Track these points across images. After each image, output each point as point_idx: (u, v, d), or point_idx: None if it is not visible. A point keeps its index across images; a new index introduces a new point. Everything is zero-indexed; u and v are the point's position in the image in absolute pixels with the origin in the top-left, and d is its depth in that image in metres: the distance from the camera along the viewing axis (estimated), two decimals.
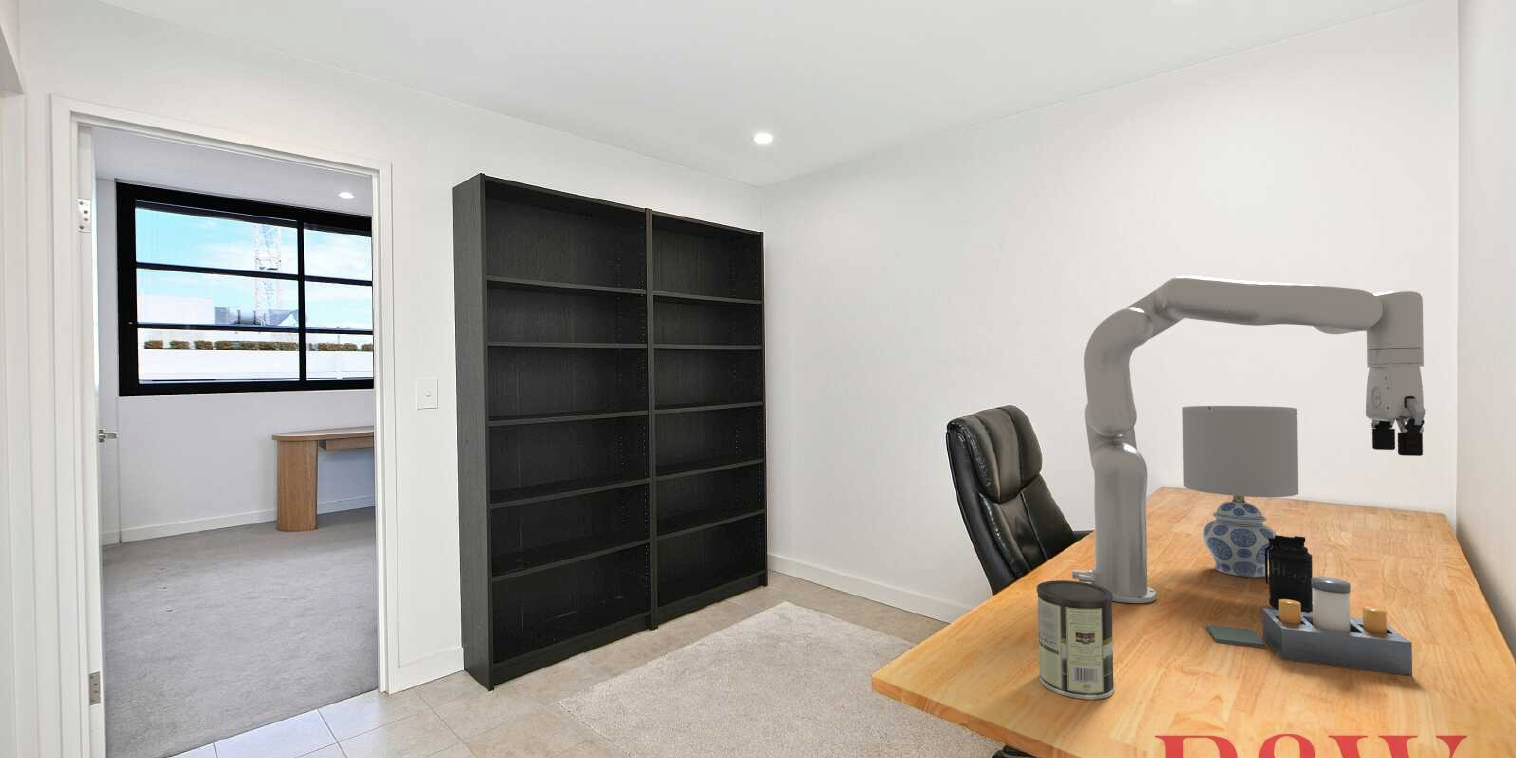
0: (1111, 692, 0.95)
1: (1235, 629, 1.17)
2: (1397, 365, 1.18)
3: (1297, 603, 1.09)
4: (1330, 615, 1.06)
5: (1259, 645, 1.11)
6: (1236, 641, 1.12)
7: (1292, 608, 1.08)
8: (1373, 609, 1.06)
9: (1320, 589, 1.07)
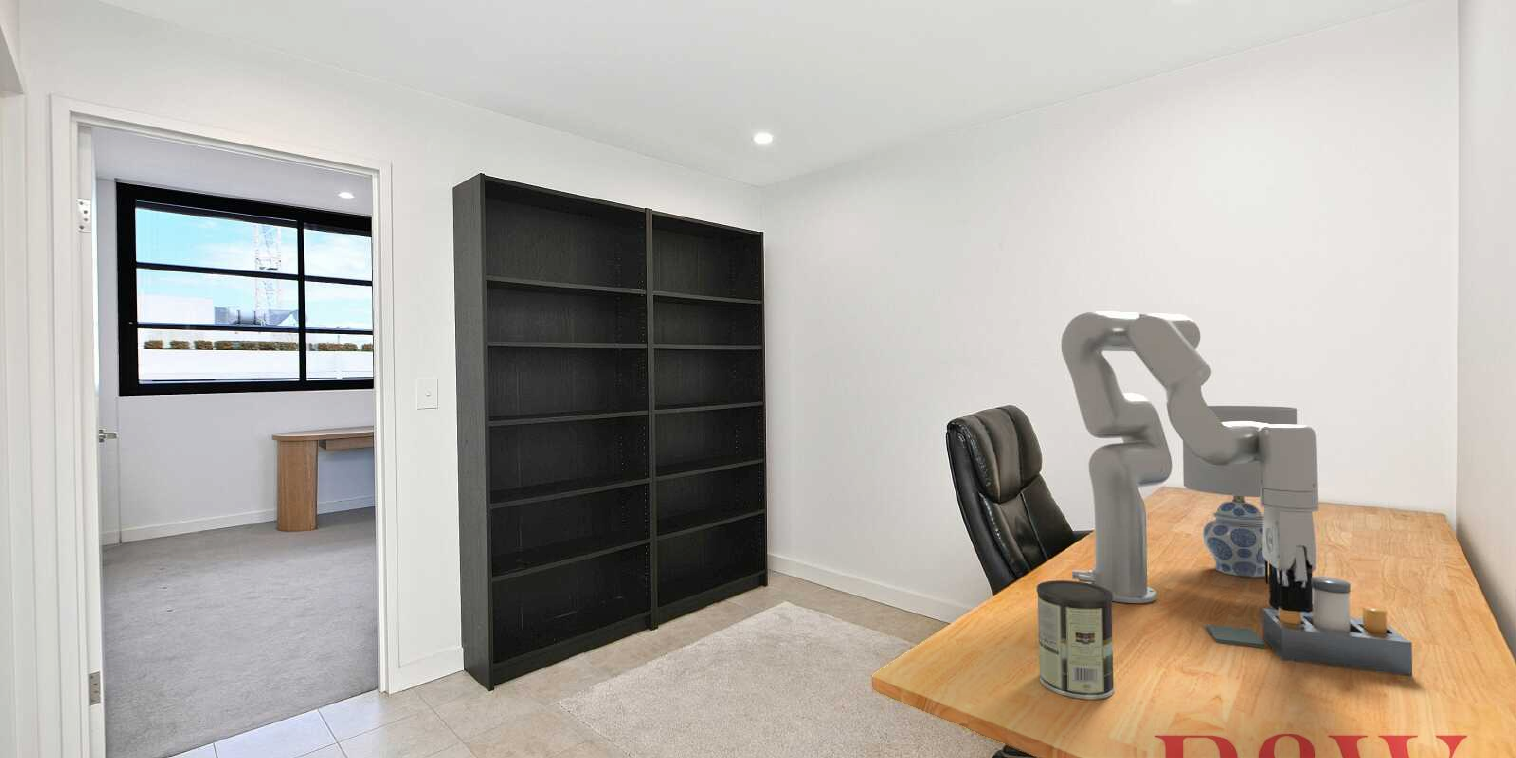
0: (1111, 692, 0.95)
1: (1235, 629, 1.17)
2: (1288, 509, 1.07)
3: None
4: (1330, 615, 1.06)
5: (1259, 645, 1.11)
6: (1236, 641, 1.12)
7: (1292, 616, 1.08)
8: (1373, 609, 1.06)
9: (1320, 589, 1.07)
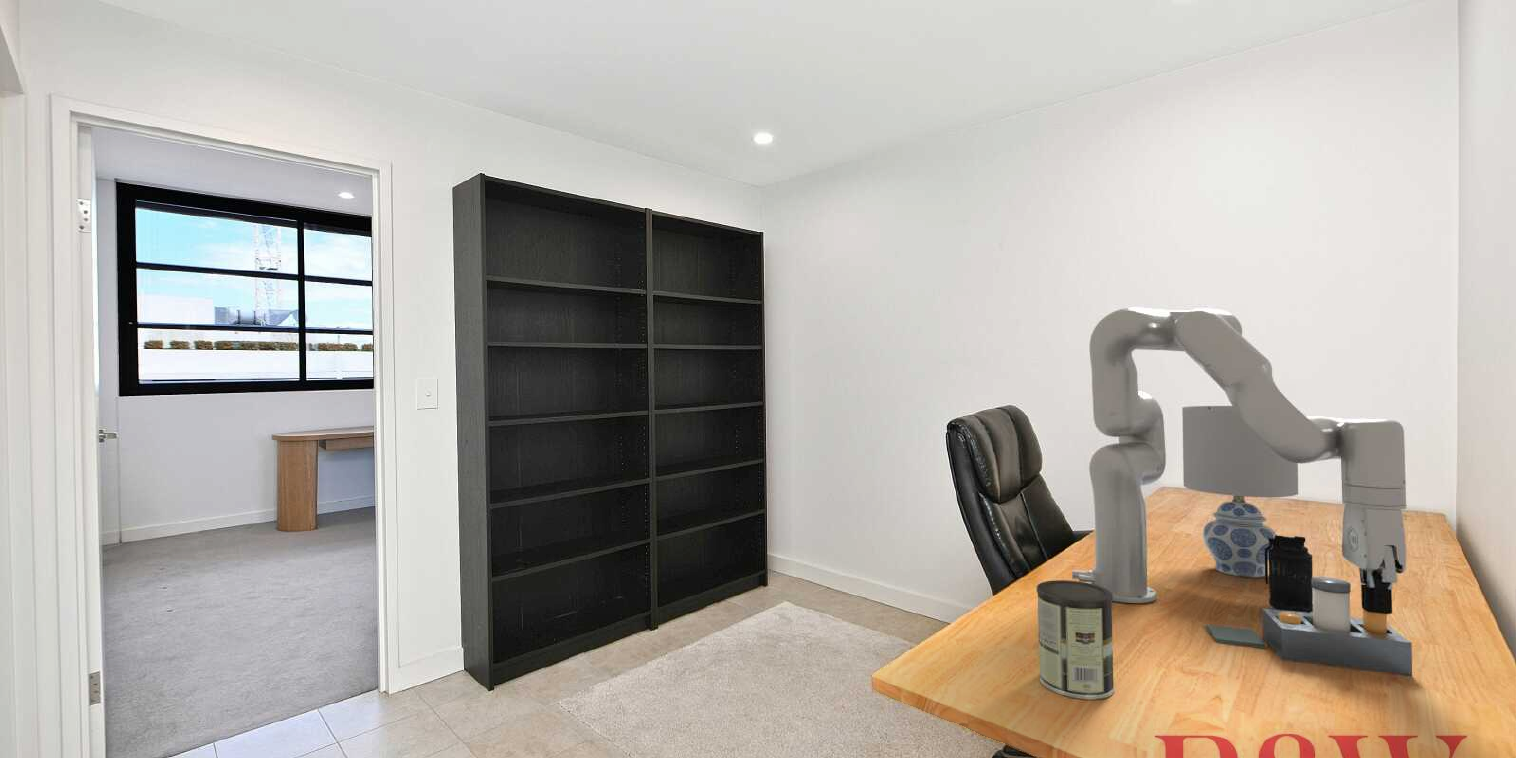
0: (1111, 692, 0.95)
1: (1235, 629, 1.17)
2: (1375, 507, 1.02)
3: (1297, 616, 1.09)
4: (1330, 615, 1.06)
5: (1259, 645, 1.11)
6: (1236, 641, 1.12)
7: (1292, 621, 1.08)
8: None
9: (1320, 589, 1.07)
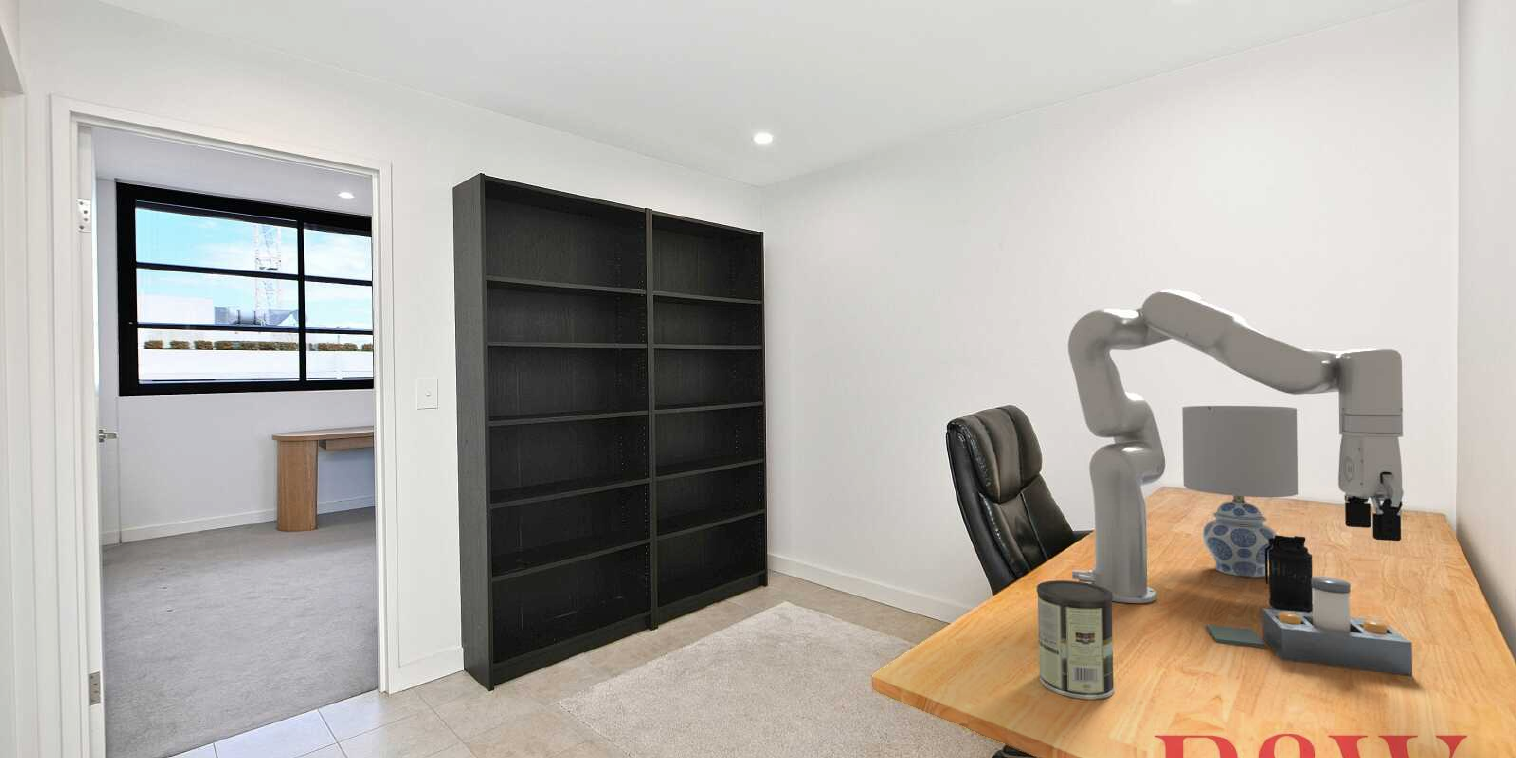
0: (1111, 692, 0.95)
1: (1235, 629, 1.17)
2: (1372, 435, 1.03)
3: (1297, 616, 1.09)
4: (1330, 615, 1.06)
5: (1259, 645, 1.11)
6: (1236, 641, 1.12)
7: (1292, 621, 1.08)
8: (1373, 622, 1.06)
9: (1320, 589, 1.07)
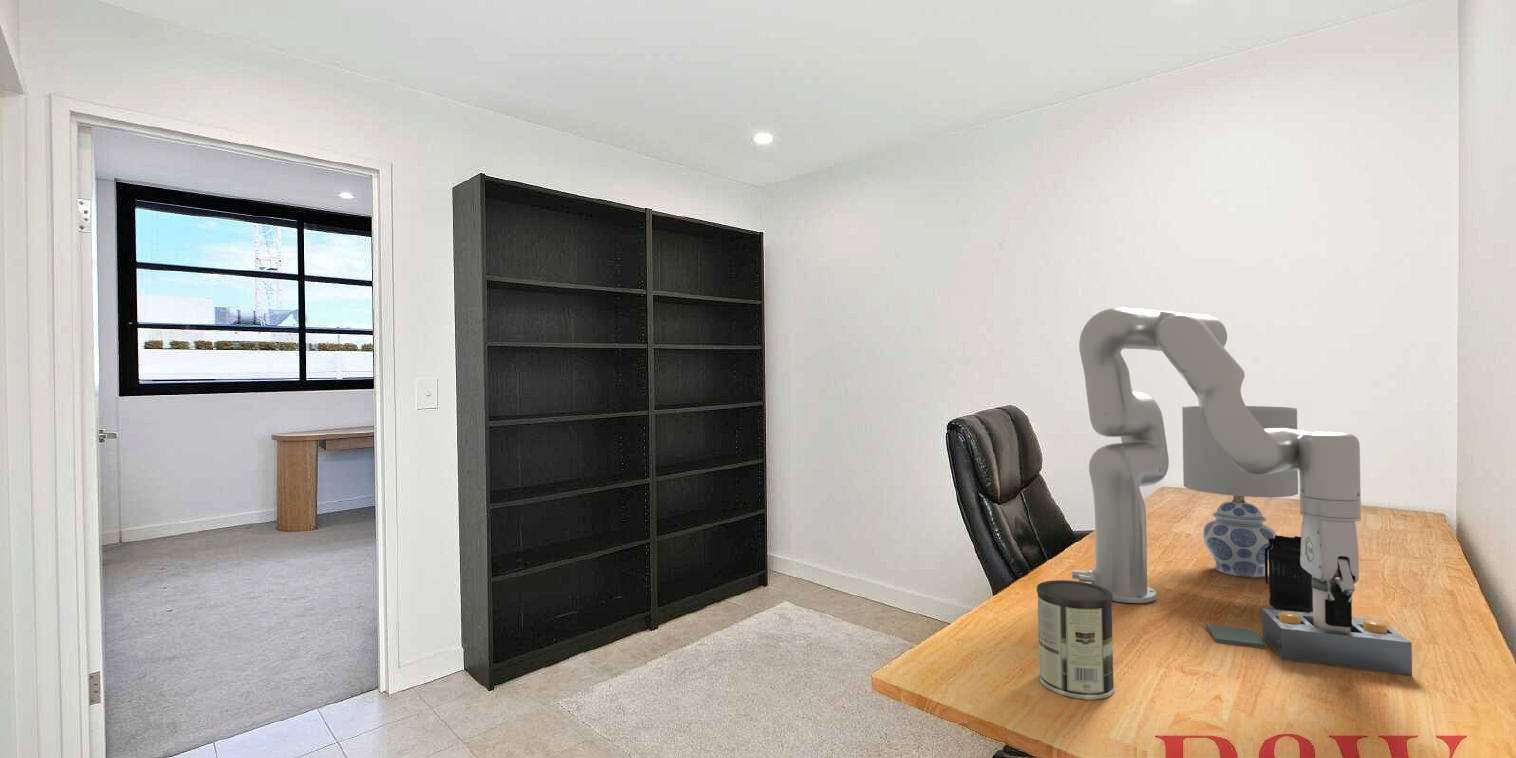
0: (1111, 692, 0.95)
1: (1235, 629, 1.17)
2: (1330, 519, 1.05)
3: (1297, 616, 1.09)
4: None
5: (1259, 645, 1.11)
6: (1236, 641, 1.12)
7: (1292, 621, 1.08)
8: (1373, 622, 1.06)
9: (1320, 589, 1.07)
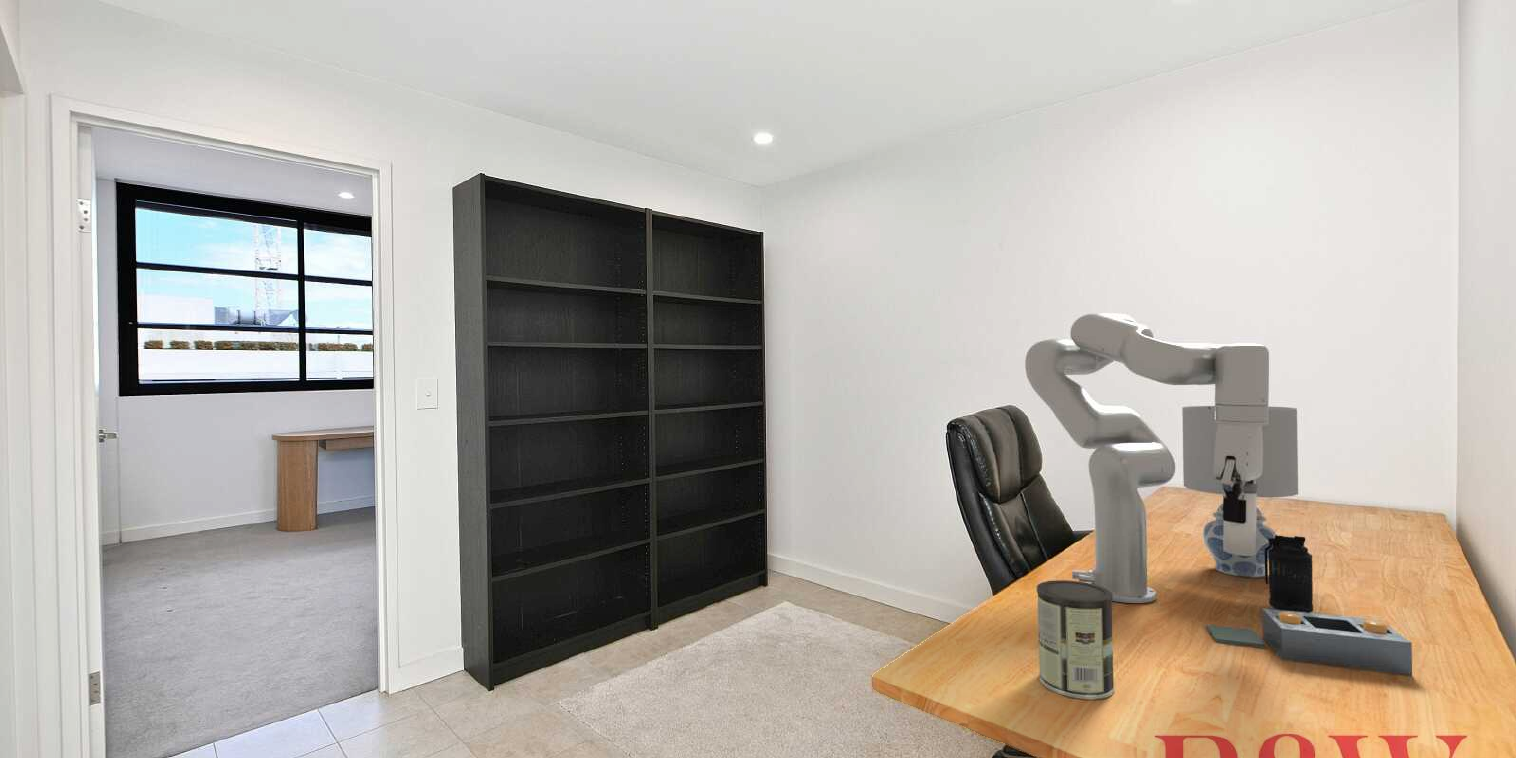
0: (1111, 692, 0.95)
1: (1235, 629, 1.17)
2: (1226, 422, 1.13)
3: (1297, 616, 1.09)
4: None
5: (1259, 645, 1.11)
6: (1236, 641, 1.12)
7: (1292, 621, 1.08)
8: (1373, 622, 1.06)
9: None
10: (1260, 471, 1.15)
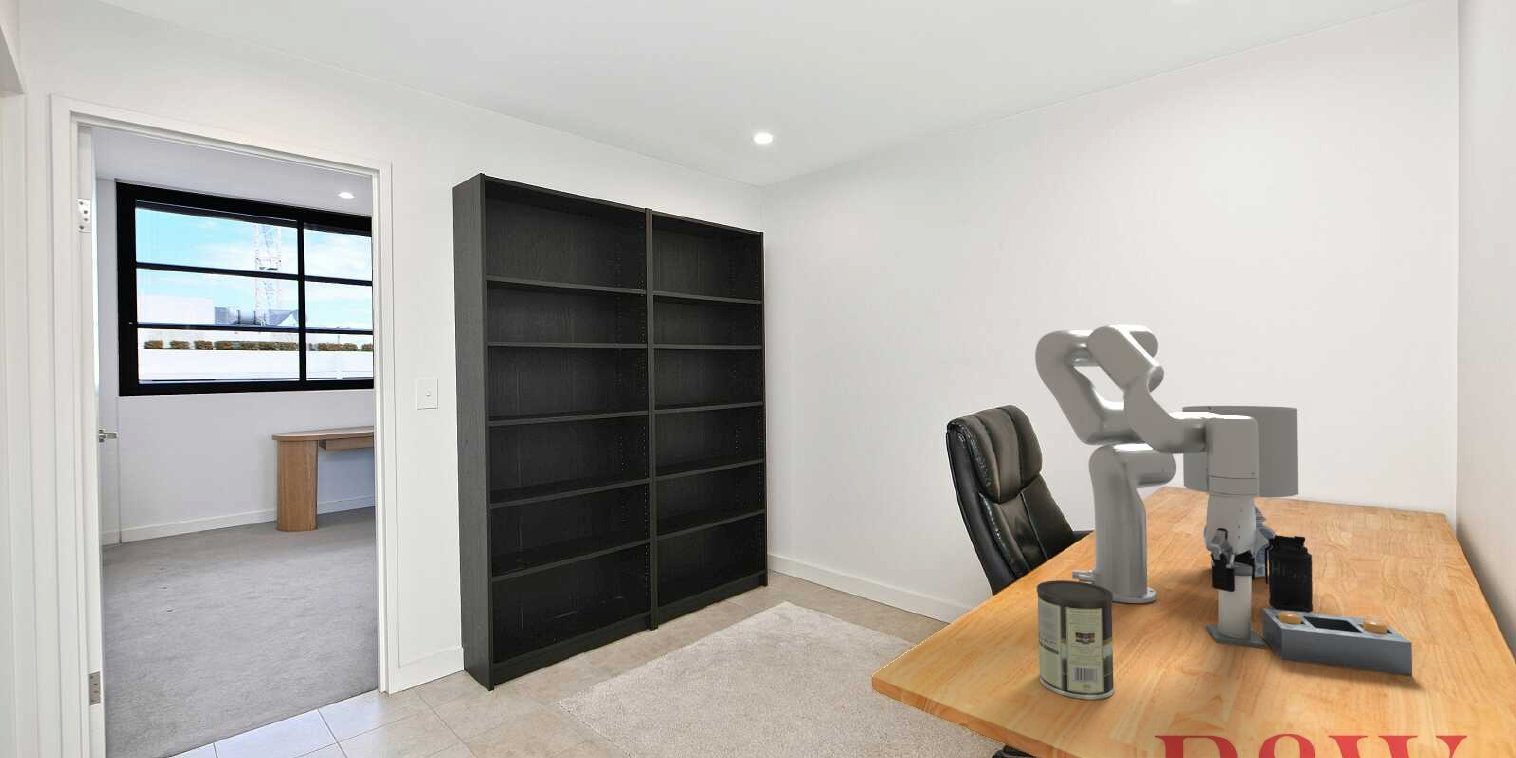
0: (1111, 692, 0.95)
1: None
2: (1217, 494, 1.14)
3: (1297, 616, 1.09)
4: (1225, 594, 1.14)
5: (1259, 645, 1.11)
6: (1236, 641, 1.12)
7: (1292, 621, 1.08)
8: (1373, 622, 1.06)
9: None
10: (1253, 542, 1.15)
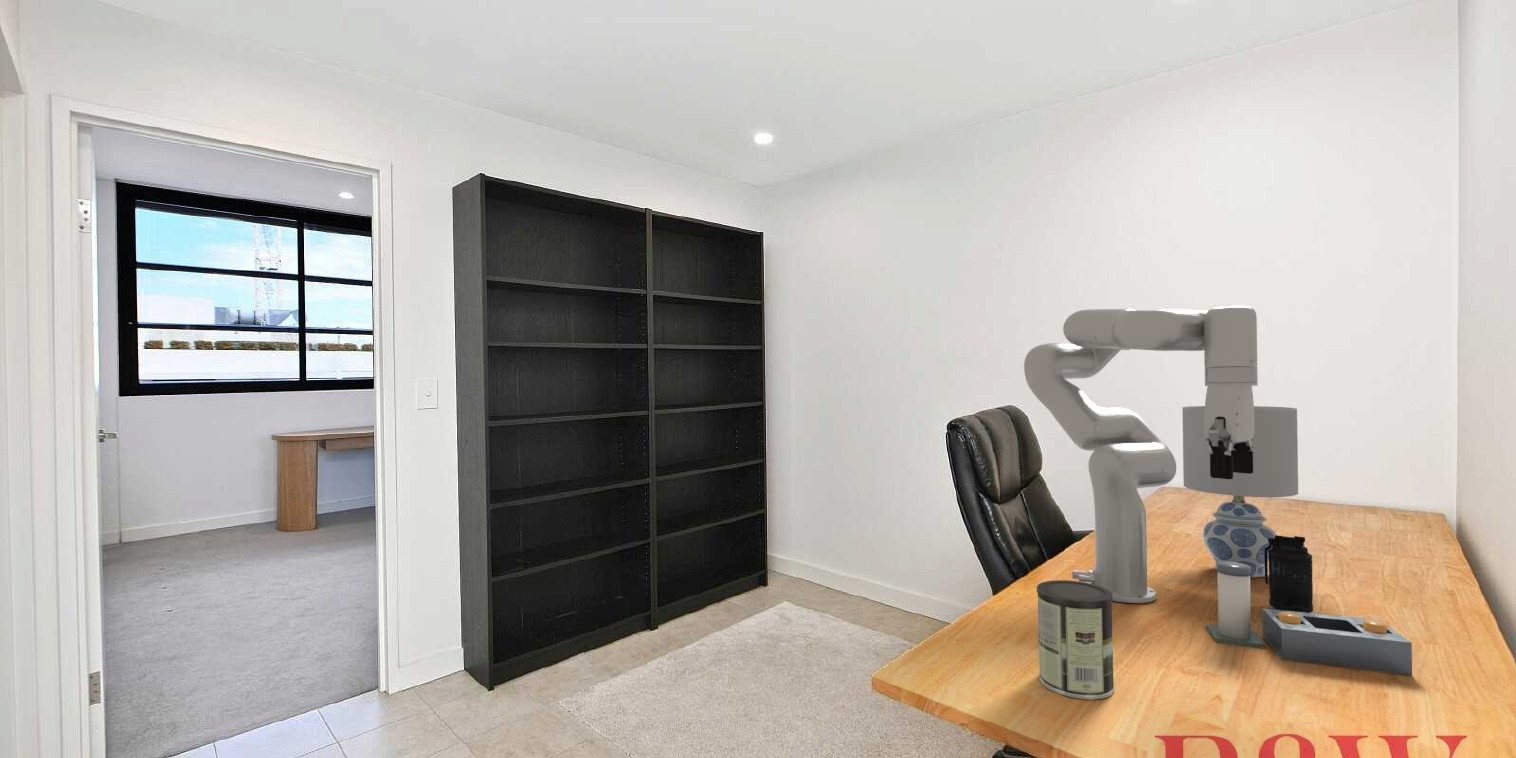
0: (1111, 692, 0.95)
1: None
2: (1215, 384, 1.14)
3: (1297, 616, 1.09)
4: (1224, 595, 1.14)
5: (1259, 645, 1.11)
6: (1236, 641, 1.12)
7: (1292, 621, 1.08)
8: (1373, 622, 1.06)
9: (1218, 570, 1.16)
10: (1252, 433, 1.15)
